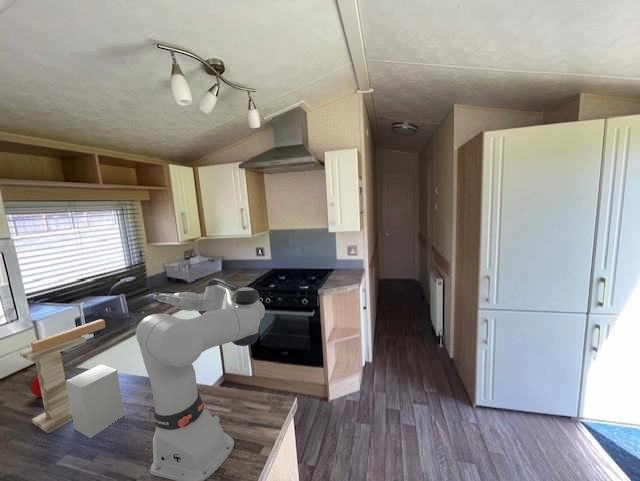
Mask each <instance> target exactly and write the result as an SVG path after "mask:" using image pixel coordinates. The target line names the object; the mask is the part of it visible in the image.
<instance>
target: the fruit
mask: <svg viewBox="0 0 640 481" xmlns="http://www.w3.org/2000/svg"><path fill="white" fill-rule="evenodd" d="M29 387H30V388H29V389H30V392H31V394H32V395H34V396H35V397H38V398H42V393H41V388H40V383H39V378H38V375H37V376H35V378H33V380H32V381H31V383H30V386H29Z"/></svg>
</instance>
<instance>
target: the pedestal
mask: <svg viewBox="0 0 640 481" xmlns="http://www.w3.org/2000/svg"><path fill="white" fill-rule="evenodd" d="M65 380H66V379H65ZM66 386H67V391H68V397H69V402H70V407H71V413H72V418H73V420H72V423H73V427H74V428H73V429H74V430H76V431H77V432H79V433H81V434H82V435H84V436H86V437H88V438H89V439H91V438H93V437H94V436H96V435H98V434H99V433H101V432H102V431H104V430H105V429H107V428H108V427H110V426H111V425H113V424H114V423H116V422H118V421H119V420H121V419H122V418H124V417H125V410H124V404H123V398H122V397H123V396H122V393H121V392H122V391H121V386H120V380H119V374H118V369H116V368H113V367H110V366H109V365H104V364H99V365H97V366H94V367H93V368H90V369H88V370H86V371H84V372H81V373H79V374H76V375H75V376H72V377H69V379H67V380H66ZM123 416H124V417H123ZM121 417H122V418H121ZM120 418H121V419H120ZM118 419H119V420H118ZM117 420H118V421H117ZM115 421H116V422H115ZM112 423H113V424H112ZM109 425H110V426H109Z"/></svg>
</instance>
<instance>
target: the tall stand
mask: <svg viewBox="0 0 640 481" xmlns="http://www.w3.org/2000/svg"><path fill="white" fill-rule="evenodd" d="M86 342H87V338H86V337H84V336H80V337H78V338H75V339H72V340H69V341H67V342H64V343H61V344H58V345H56V346H53V347H50V348H47V349H44V350H42V351H39V352H34V351H32V347H30V348H28V349H24V350H22V351H19V355H20V358H24V359H26V360H27V361H30V362H32V363H34V362H35V368H36V373H37V376H38V378H39V383H40V388H41V393H42V397H41V398H42V404H43V408H44V412H43V413H41V414H38V415H37V416H35V417H33V418H31V422H32V424H34V425H35V426H36V427H38V428H40V429H41V430H43V431H44V432H45V433H46V434H50V433H52V432H54V431H55V430H57V429H59V428H61V427H63V426H65V425H66V424H68V423H69V422H72V421H73V418H72V413H71V407H70V402H69V396H68V391H67V385H66V376H65V375H66V374H65V369H64V364H63V358H62V353H61V352H63V351H66V350H68V349H71V348H73V347H76V346H79V345H82V344H84V343H86Z"/></svg>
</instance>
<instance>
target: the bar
mask: <svg viewBox="0 0 640 481" xmlns="http://www.w3.org/2000/svg"><path fill="white" fill-rule="evenodd" d="M102 329H106V322H105V319H101V318H100V319H97V320H94V321H90V322H88V323H85V324H82V325H79V326H76V327H72V328H70V329H67V330H64V331H61V332H57V333H55V334H51V335H49V336H46V337H43V338H40V339H37V340H33V341H31V342H30V348H32V351H34V352H39V351H42V350H44V349H47V348H50V347H53V346H56V345H58V344H61V343H64V342H67V341H69V340H72V339H75V338H78V337H80V336H81V337H84V336H85V335H89V334H91V333H94V332H97V331H100V330H102Z"/></svg>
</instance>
